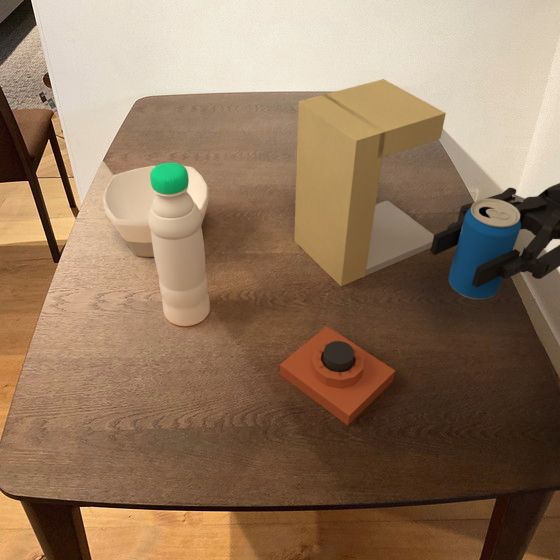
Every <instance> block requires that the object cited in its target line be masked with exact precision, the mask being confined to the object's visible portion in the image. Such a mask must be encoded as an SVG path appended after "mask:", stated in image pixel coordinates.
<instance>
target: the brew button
mask: <svg viewBox="0 0 560 560" xmlns="http://www.w3.org/2000/svg"><path fill="white" fill-rule="evenodd" d="M353 360H354V350H353V348H352V347H351V346H350V345H349V344H348V343H346V342H342V341H333V342H330V343H329V344H327V345H326V347H325V348H324V355H323V362H324V365H325V366H326V367H327V368H328V369H329V370H331V371H334V372H345V371H347V370H349V369H350V368H351V367H352V365H353Z"/></svg>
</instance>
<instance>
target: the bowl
mask: <svg viewBox="0 0 560 560" xmlns="http://www.w3.org/2000/svg"><path fill="white" fill-rule="evenodd" d="M156 166H157V165H150V166H149V165H148V166H145V167H138V168H133V169H130V170H126V171H123V172H120V173H116V174H114V175H113V176H112V177H111V179H110V180H109V182H108V183H107V185H106V186H105V189H104V193H103V196H102V206H103V208H104V209H103V210H104V212H105V215H106V216H107V217H108V219H109V220H110V222H111V223H112V224H113V226H114V227H115V229H116V231H118V234H119V235H120V236H121V237H122V238H123V240H124V241H125V243H126V245H128V247H129V249H130V250H131V251H132V253H133V254H134V255H135V257H145V258H154V252H153V246H152V236H151V229H150V227H149V224H148V215H149V211H150V209H151V206H152V203H153V200H154V198H155V196H156V193H155V192H154V191H153V188H152V186H151V181H150V173H151V171H152V169H153V168H154V167H156ZM183 166H184V167H185V168H186V170H187V172H188V179H189V182H188V189H187V190H186V192H187V193H188V194H189V195H190V196H191V197H192V199H193V201H194V202H195V204H196V205H197V206H198V208H199V210H200V212H201V226H202V225H203V222H204V219H205V215H206V212H207V209H208V206H209V202H210V188H209V185H208V184H207V182H206V180H205V178H204V176H203V175H201V174H200V172H198V171H197V170H196V169H195V168H194V167H193V166H191V165H190V166H189V165H183Z"/></svg>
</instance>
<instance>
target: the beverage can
mask: <svg viewBox="0 0 560 560" xmlns="http://www.w3.org/2000/svg"><path fill="white" fill-rule="evenodd" d="M472 203H473V202H472ZM520 228H521V222H520V213H519V211H518V210H517V209H516V208H515V207H514V206H513V205H511V204H509V203H507V202H505V201H502V200H498V199H485V198H481V199H477V200H475V201H474V203H473V204H472V206H471V208H470V209H469V210H468V211H467V212H466V214H465V218H464V222H463V225H462V229H461V233H460V237H459V240H458V244H457V245H456V248H455V251H454V256H453V259H452V263H451V266H450V270H449V273H448V282H449V286H451V288H452V289H453V290H454V291H455V292H456V293H458V294H459V295H461V296H463V297H465V298H467V299H472V300H486V299H490V298H492V297H494V296H496V295H497V294H498V292H499V291H500V287H501V285H502V281H503V280H504V279H503V278H502V277H501V276H500V277H498V278H495V279H493V280H491V281H489V282H487V283H485V284H483V285H481V286H479V287H477V288H476V287H474V286H473V285H472V281H473V278H474V275H475V272H476V269H477V267H478V266H480V265H482V264H485V263H487V262H489V261H491V260H493V259H495V258H497V257H499V256H501V255H504V254H506V253H508V252H510V251H512V250H514V249H515V245H516V242H517V240H518V236H519V233H520V231H521V230H520Z"/></svg>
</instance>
